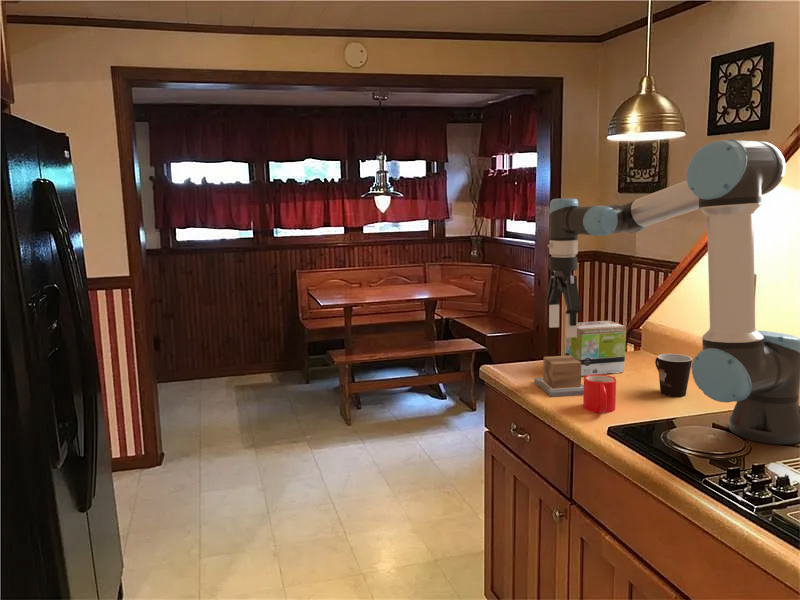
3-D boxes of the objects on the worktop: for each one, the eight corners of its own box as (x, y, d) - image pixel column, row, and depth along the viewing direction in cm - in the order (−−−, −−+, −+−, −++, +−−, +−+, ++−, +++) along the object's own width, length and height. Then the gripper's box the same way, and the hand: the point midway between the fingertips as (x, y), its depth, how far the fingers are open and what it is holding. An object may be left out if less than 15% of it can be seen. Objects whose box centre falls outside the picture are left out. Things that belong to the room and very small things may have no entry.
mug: (588, 418, 162) (589, 387, 161) (580, 403, 174) (581, 373, 172) (621, 419, 161) (622, 387, 160) (611, 403, 173) (612, 374, 171)
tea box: (580, 377, 196) (581, 328, 194) (564, 369, 206) (564, 322, 204) (625, 373, 200) (627, 325, 197) (607, 364, 210) (608, 319, 207)
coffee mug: (693, 399, 174) (695, 362, 173) (659, 397, 176) (660, 361, 174) (684, 386, 186) (685, 351, 184) (651, 385, 187) (653, 350, 186)
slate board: (589, 394, 180) (589, 390, 180) (550, 396, 179) (550, 392, 179) (570, 380, 194) (571, 375, 194) (534, 382, 193) (534, 378, 193)
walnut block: (580, 387, 183) (581, 362, 182) (552, 388, 182) (553, 364, 181) (570, 379, 191) (570, 355, 190) (543, 380, 190) (543, 356, 189)
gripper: (535, 252, 192) (535, 324, 196) (566, 260, 168) (565, 342, 171) (560, 251, 193) (559, 322, 196) (594, 259, 169) (593, 340, 172)
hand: (562, 332), depth 184 cm, fingers open, 13 cm apart
